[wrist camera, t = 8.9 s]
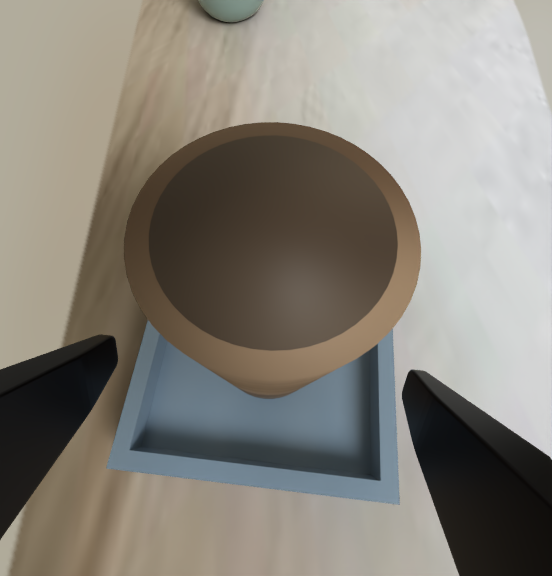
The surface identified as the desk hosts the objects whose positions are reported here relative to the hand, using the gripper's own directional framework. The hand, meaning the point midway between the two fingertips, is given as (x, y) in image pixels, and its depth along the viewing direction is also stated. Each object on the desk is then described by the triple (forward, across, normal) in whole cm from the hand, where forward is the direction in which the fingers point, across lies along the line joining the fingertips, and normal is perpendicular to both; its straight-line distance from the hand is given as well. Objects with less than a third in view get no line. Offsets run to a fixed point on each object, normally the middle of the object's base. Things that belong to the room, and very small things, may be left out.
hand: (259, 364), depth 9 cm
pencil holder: (+7, 0, +4) cm, 8 cm away
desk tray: (+7, 0, +4) cm, 9 cm away
